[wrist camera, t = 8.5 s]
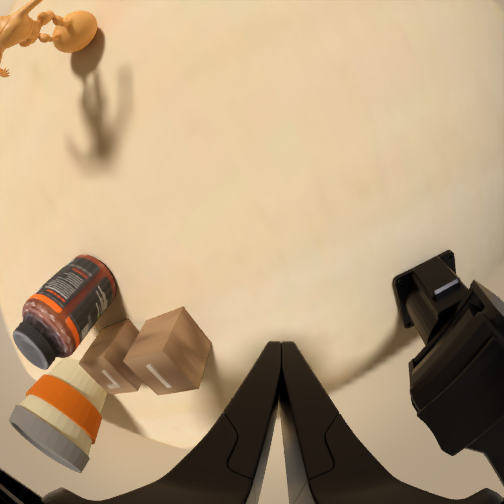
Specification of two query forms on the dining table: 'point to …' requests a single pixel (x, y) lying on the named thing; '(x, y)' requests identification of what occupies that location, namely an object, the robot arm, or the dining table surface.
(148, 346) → the block one
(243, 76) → the dining table surface
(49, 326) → the supplement bottle
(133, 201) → the dining table surface
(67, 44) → the figurine
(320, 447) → the robot arm
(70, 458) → the reusable coffee cup
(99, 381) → the block seven
